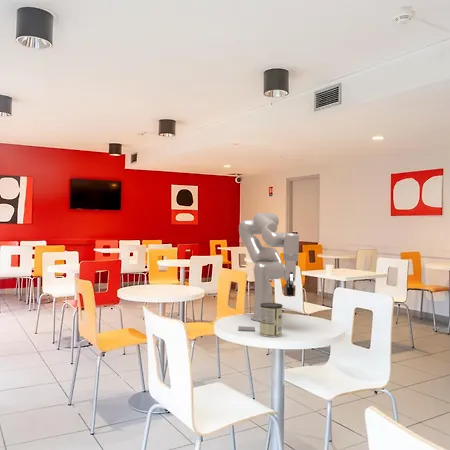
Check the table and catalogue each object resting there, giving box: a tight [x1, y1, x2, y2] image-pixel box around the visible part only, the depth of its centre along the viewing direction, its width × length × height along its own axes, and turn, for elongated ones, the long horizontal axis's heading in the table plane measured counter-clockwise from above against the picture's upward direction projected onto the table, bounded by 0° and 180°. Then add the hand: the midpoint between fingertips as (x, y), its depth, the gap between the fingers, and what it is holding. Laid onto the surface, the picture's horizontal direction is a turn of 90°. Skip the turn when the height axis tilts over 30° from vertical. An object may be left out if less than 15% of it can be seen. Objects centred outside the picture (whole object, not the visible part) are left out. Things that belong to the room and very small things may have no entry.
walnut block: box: [283, 284, 296, 297], centre depth 222 cm, size 5×5×5 cm
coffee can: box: [259, 302, 284, 338], centre depth 208 cm, size 10×10×14 cm
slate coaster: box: [238, 325, 256, 332], centre depth 218 cm, size 8×8×1 cm
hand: (289, 294), depth 222 cm, fingers closed on walnut block, 5 cm apart
